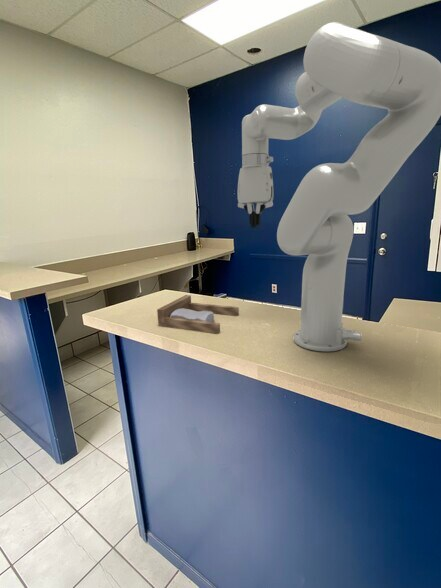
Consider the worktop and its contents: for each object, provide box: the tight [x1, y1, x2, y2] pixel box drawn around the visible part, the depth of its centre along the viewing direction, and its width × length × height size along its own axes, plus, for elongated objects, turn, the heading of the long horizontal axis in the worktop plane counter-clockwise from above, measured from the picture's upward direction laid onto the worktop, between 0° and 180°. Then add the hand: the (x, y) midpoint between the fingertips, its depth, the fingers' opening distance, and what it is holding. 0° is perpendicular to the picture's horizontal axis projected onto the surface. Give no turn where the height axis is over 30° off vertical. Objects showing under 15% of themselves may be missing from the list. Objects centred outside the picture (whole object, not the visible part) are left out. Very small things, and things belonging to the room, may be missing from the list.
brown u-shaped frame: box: [156, 294, 240, 334], centre depth 94 cm, size 19×17×5 cm
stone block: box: [170, 308, 215, 322], centre depth 93 cm, size 12×5×10 cm
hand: (255, 227), depth 94 cm, fingers closed
